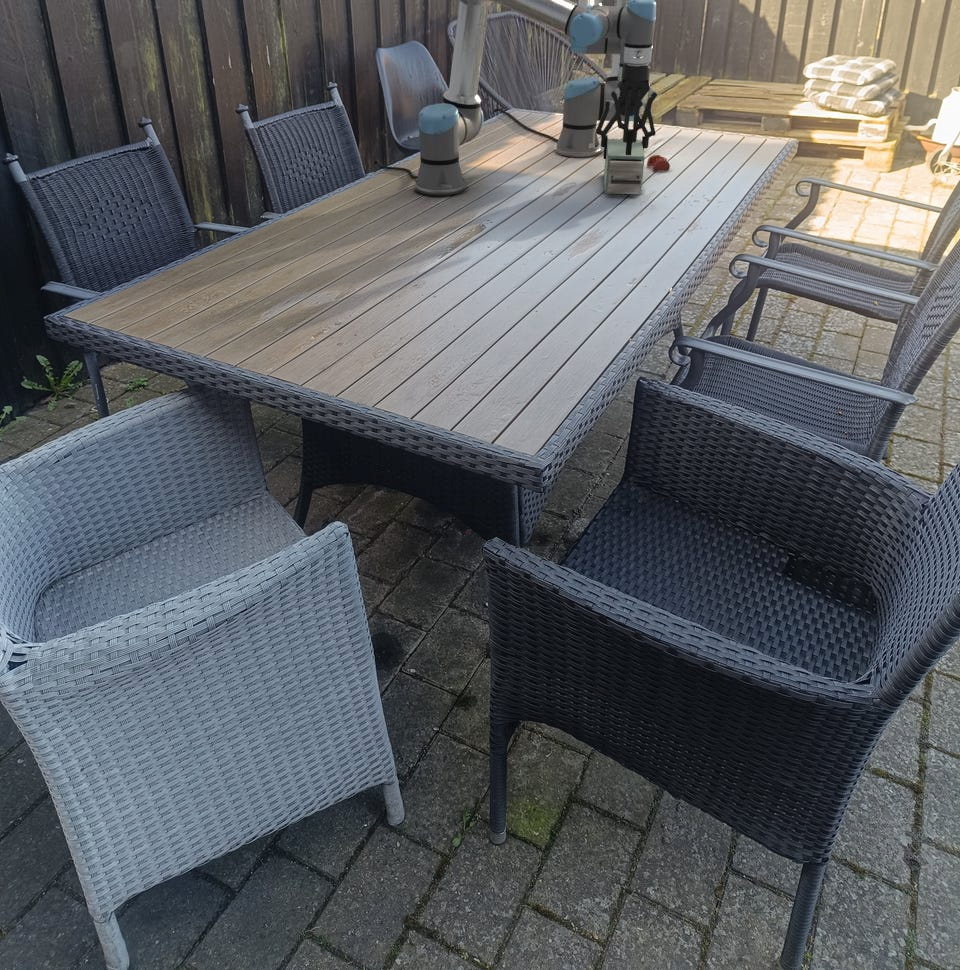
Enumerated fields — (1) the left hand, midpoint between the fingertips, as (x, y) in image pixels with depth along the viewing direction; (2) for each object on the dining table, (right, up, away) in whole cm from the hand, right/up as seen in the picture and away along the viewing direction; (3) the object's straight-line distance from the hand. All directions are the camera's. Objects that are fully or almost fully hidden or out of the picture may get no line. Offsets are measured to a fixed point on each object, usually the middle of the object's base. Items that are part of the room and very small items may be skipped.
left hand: (628, 154), depth 243 cm
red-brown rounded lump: (+16, +9, +34) cm, 39 cm away
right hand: (+2, +7, +21) cm, 22 cm away
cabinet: (+1, -2, +20) cm, 20 cm away
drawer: (+1, -4, +15) cm, 15 cm away
